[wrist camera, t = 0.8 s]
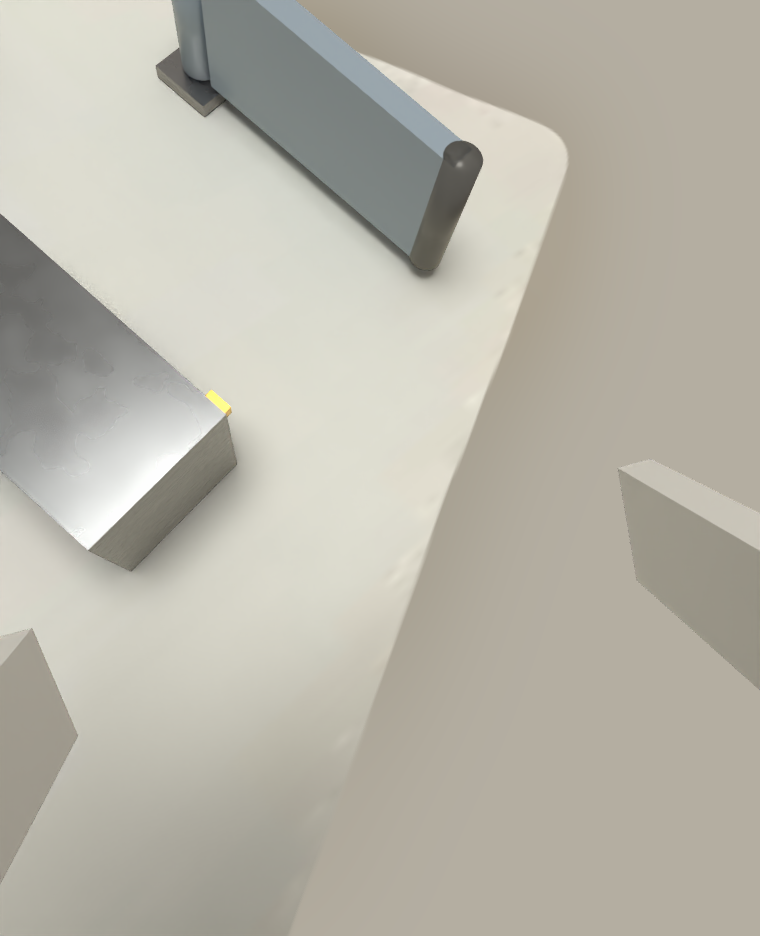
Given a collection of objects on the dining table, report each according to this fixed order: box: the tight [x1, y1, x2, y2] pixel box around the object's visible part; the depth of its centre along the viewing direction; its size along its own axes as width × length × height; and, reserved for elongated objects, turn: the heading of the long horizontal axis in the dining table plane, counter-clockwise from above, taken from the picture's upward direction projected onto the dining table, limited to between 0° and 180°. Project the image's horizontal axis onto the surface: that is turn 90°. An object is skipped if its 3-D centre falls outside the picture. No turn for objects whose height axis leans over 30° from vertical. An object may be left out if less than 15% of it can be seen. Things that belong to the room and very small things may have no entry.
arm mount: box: [156, 48, 226, 117], centre depth 45 cm, size 4×4×1 cm
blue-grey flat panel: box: [172, 0, 483, 270], centre depth 39 cm, size 21×2×9 cm, turn 49°
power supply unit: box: [0, 214, 237, 571], centre depth 35 cm, size 16×9×9 cm, turn 49°
